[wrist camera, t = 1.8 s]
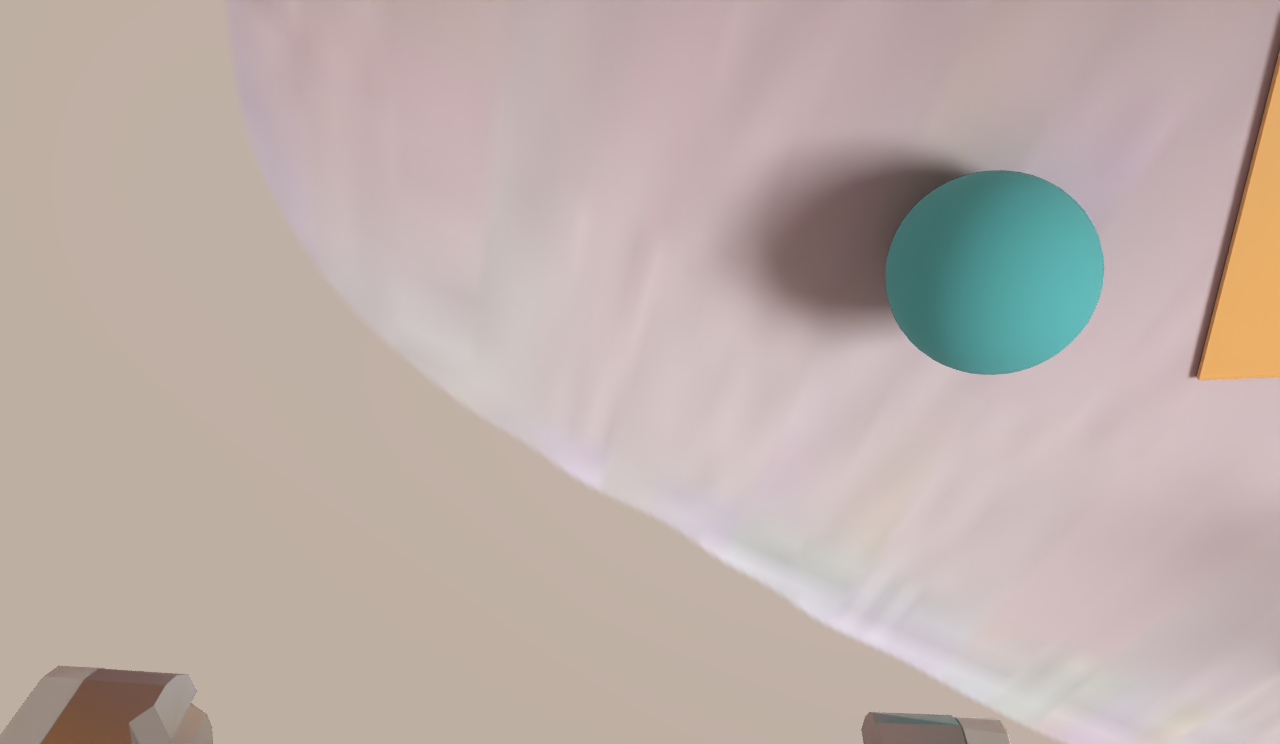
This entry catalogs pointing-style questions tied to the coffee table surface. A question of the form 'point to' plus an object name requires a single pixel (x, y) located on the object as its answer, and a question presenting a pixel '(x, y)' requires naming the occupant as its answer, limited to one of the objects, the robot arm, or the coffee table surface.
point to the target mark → (1251, 268)
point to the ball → (994, 272)
